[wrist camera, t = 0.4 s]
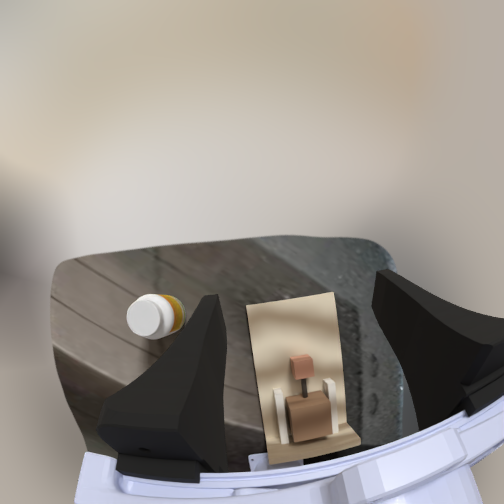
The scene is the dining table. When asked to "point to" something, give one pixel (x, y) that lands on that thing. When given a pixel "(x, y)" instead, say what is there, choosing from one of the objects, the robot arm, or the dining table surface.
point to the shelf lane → (282, 380)
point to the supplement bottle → (156, 316)
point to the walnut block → (307, 405)
